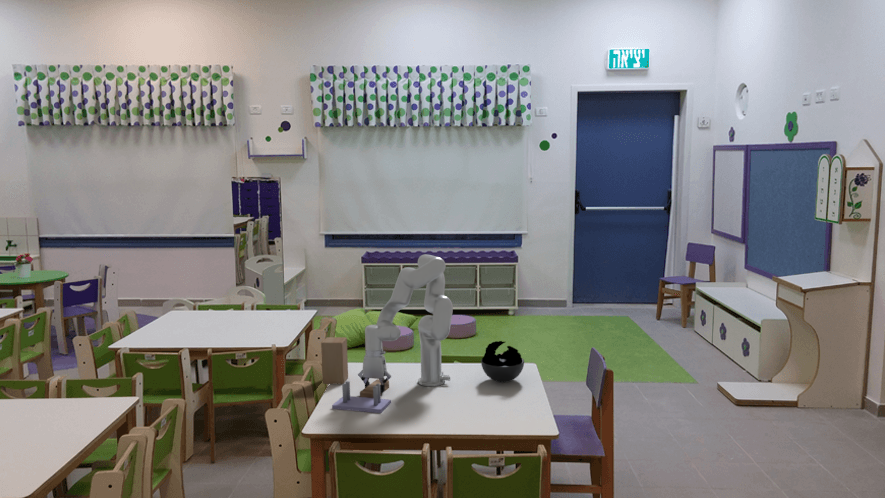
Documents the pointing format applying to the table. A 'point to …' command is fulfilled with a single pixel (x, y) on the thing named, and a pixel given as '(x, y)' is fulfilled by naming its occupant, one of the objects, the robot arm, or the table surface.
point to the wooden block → (334, 360)
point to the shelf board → (368, 390)
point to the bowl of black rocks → (502, 363)
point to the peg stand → (361, 401)
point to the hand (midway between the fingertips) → (374, 391)
